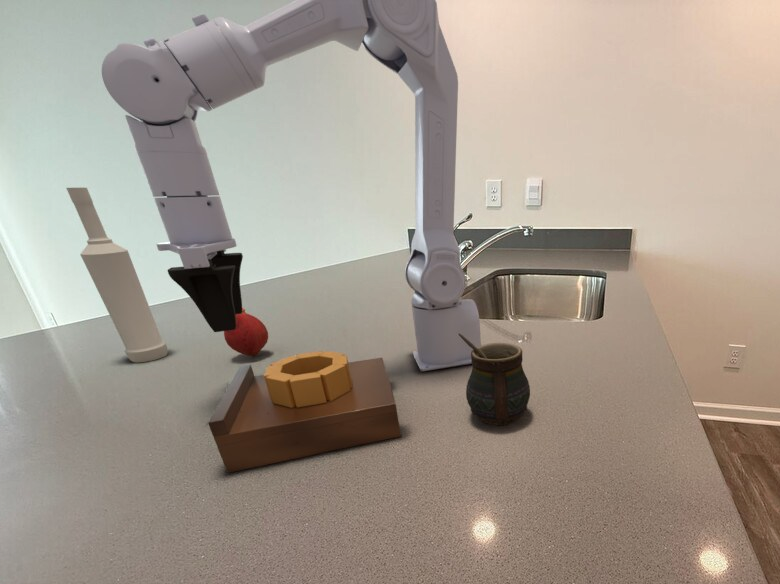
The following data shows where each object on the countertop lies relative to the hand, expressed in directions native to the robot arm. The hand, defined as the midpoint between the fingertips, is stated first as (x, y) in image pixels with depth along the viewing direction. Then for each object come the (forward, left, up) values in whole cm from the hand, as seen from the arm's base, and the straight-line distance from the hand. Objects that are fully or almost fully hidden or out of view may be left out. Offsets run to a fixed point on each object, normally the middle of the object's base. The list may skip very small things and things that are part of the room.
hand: (229, 321), depth 49 cm
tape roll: (-8, +11, -6) cm, 15 cm away
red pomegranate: (+3, -16, -10) cm, 19 cm away
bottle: (+19, -23, -10) cm, 31 cm away
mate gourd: (-27, +18, -10) cm, 34 cm away
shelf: (-8, +11, -10) cm, 17 cm away
